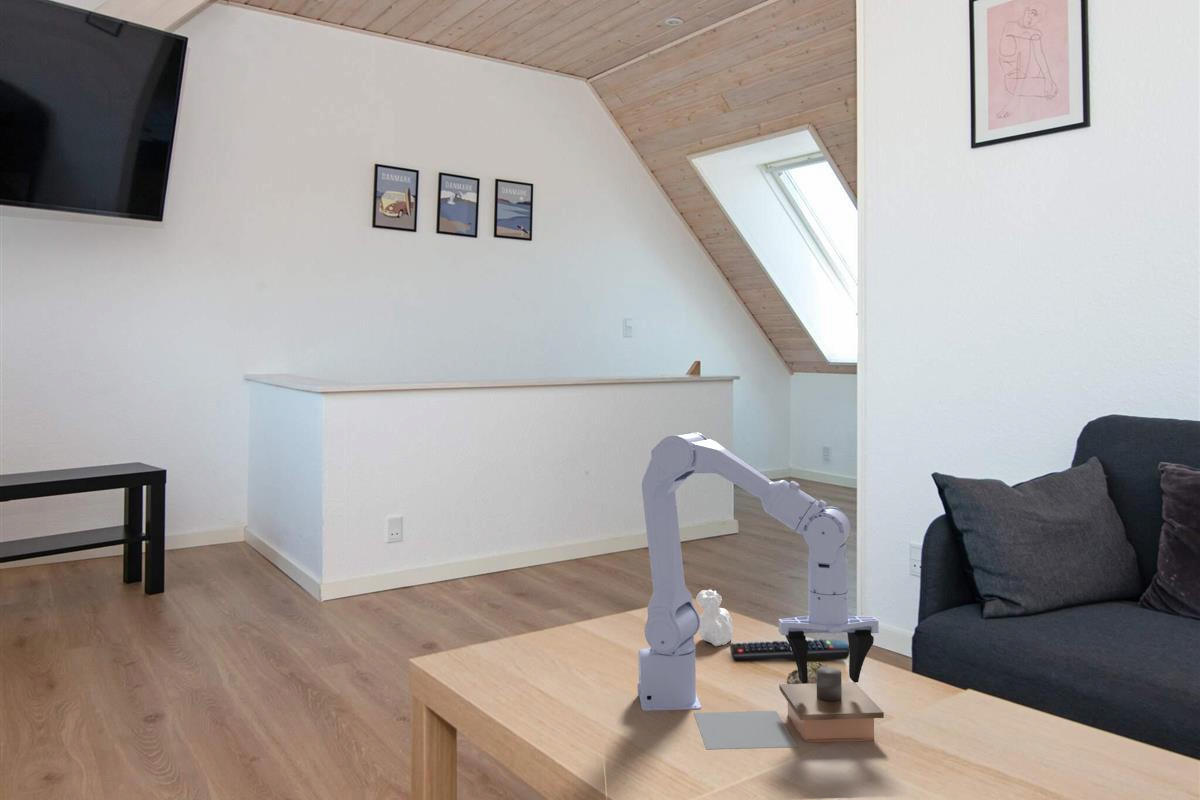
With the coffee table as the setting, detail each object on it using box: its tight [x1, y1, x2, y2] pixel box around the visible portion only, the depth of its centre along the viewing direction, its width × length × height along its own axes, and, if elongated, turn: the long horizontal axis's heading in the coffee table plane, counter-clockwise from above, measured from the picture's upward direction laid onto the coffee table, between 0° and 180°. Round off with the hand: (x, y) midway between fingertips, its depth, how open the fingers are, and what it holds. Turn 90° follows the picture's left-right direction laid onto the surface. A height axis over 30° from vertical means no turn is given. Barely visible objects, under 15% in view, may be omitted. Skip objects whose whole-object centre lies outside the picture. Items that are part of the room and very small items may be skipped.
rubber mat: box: [693, 710, 798, 750], centre depth 125 cm, size 13×13×1 cm
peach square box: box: [787, 702, 875, 743], centre depth 125 cm, size 10×10×4 cm
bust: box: [695, 588, 734, 647], centre depth 169 cm, size 12×8×11 cm
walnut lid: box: [778, 666, 885, 720], centre depth 125 cm, size 12×12×5 cm
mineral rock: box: [786, 661, 828, 684], centre depth 144 cm, size 11×4×8 cm
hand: (828, 680), depth 125 cm, fingers open, 7 cm apart
